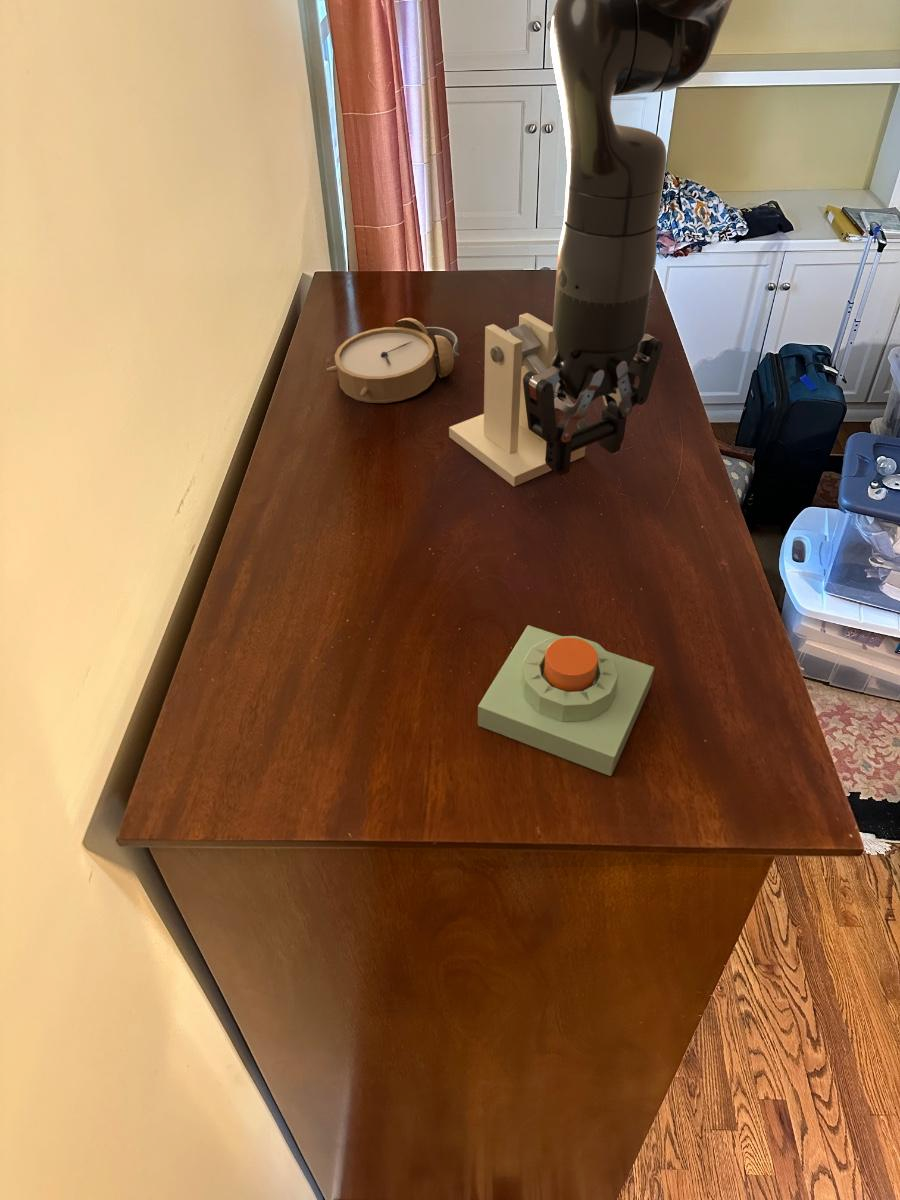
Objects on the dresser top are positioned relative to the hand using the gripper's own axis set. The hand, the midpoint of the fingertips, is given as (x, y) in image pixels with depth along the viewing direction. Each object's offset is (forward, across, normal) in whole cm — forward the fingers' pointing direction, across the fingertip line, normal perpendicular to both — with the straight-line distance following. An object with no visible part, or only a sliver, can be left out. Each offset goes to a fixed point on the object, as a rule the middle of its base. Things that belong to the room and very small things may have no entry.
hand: (584, 458), depth 79 cm
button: (0, -18, -19) cm, 27 cm away
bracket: (+4, 0, +10) cm, 11 cm away
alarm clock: (+4, -2, +30) cm, 30 cm away
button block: (+4, -18, -19) cm, 27 cm away
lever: (-4, 0, +6) cm, 7 cm away
